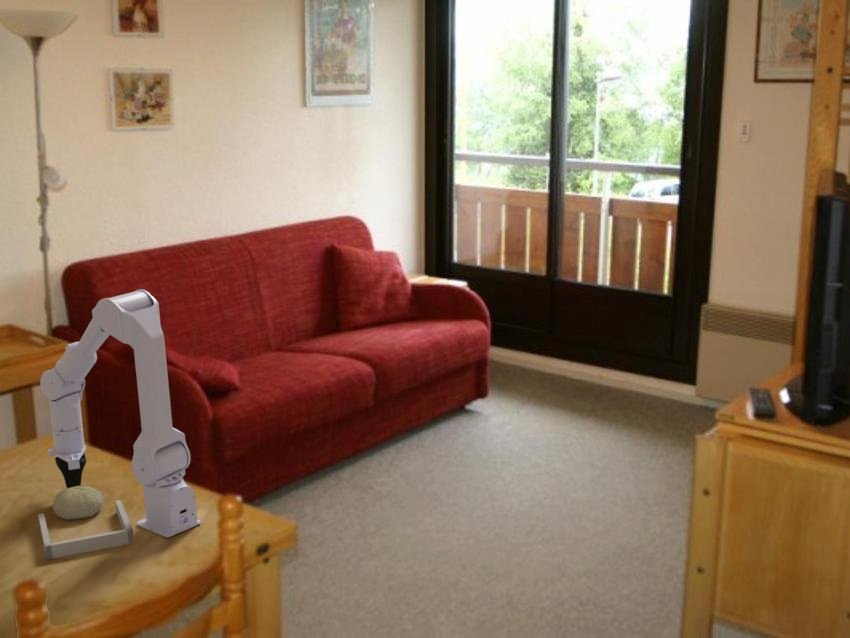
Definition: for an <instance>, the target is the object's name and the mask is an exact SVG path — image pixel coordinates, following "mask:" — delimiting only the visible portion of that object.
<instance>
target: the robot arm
mask: <svg viewBox="0 0 850 638" xmlns="http://www.w3.org/2000/svg"><path fill="white" fill-rule="evenodd" d="M91 314H92V315H91V316H92V319H91V320H90V322H89V323H88V326H87V327H86V330H85V331H84V332H83V335H82V336H81V338H80V340H79V341H75V342H71V343H69V344H66V345H65V347H64V350H65V351H64V353H63V354H62V355H61V357H60V359H59V360H57V361H56V363H55V366H54V367H53V368H51V369H49V370H46V371H43V372H42V374H41V376H40V381H39V383H40V384H39V386H40V389H41V392H42V393H43V395H44V396H45V398H47V399H48V404H49V413H50V421H51V422H50V423H51V432H52V441H53V442H52V443H53V448H49V449H47V454H48V456H55V458H54V460H55V464H56V466H57V468H58V469H59V470H60V472H61V473H62V476H63V480H64V482H65V486H66V489H67V488H71V487H75V486H82V485H81V484H82V475H83V472H84V469H85V467H86V464H87V458H86V453H85V452H86V451H87V445H86V444H85V437H84V428H83V426H84V425H83V416H82V415H83V414H82V407H81V402H82V399H83V391H84V389H85V386H86V379H85V378H86V377H87V375H88V374H89V372H90V371H91V369H92V368H93V366H94V365H95V364H96V363H97V360H98V356H97V355H98V354H97V351H98V350H99V348H100V347H101V346H102V345H103V344H104V342H105V341H106V340H107V339H108V338H109V337H110V336H112V337H113V338H115V340H118V341H119V342H121V343H123V344H126V345H129V346H130V347H131V348H132V349H133V354H134V355H133V356H134V364H135V365H134V366H135V373H136V374H135V375H136V384H137V385H136V386H137V393H138V394H137V395H138V405H139V406H138V407H139V414H140V415H139V416H140V427H141V432H140V434H139V435H138V437H137V439H136V440H135V442H134V443H133V456H132V459H131V471H132V473H133V476H134V477H135V478H136V480H137V481H138V482H139V484H141V485H142V487H143V499H144V511H145V518H143V519H140V520H139V521H137V522H136V526H138V527H141V528H143V529H146V530H148V531H150V532H152V533H155V534H157V535H160V536H162V537H164V538H171V537H173V536H175V535H178V534H179V533H182V532H184V531H186V530H189V529H191V528H194V527H197V526H198V525H200V524H202V521H201V520H200V519H198V515H197V514H198V513H197V503H196V502H197V500H196V494H195V492H194V489H193V488H192V487H190V486H189V485H188V484H187V483H186V482H185V479H184V476H186V469H187V468H188V467H189V465H190V463H191V452H190V449H189V447H188V444H187V441H186V435H185V433H184V432H182V431H180V430H179V429H177V428H175V427H173V418H172V407H171V395H170V388H169V387H170V386H169V384H170V383H169V377H168V375H169V374H168V364H167V363H168V362H167V355H166V354H167V352H166V343H165V336H164V331H163V330H162V326H161V315H160V304H159V302H158V301H157V299H156V298H155V297H154V296H152V294H151V293H150V292H149V291H147V290H146V289H141V288H140V289H136V290H135V291H132V292H128V293H124V294H120V295H115V296H112V297H105V298H102V299H100V300H98V302H97V303H96V305H95V307H93V308H92V310H91Z"/></svg>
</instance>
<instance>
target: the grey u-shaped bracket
mask: <svg viewBox="0 0 850 638" xmlns="http://www.w3.org/2000/svg"><path fill="white" fill-rule="evenodd" d="M115 511H116V513H115V514H116V516H117V518H118V520H119V523H120V525H121V529H119V530H114V531H108V532H104V533H100V534H98V533H97V534H93V535H88V536H83V537H82V536H81V537H78V538H77V537H76V538H72V539H66V540H61V541H55V542H51V539H50V534H49V528H48V526H47V521H46V517H45V514H44V513H38V514H37V516H38V517H37V518H38V524H39V530H40V536H41V540H42V544H43V548H44V549H43V550H44V555H45V558H46V560H47V561H48V560H53V559H58V558H63V557H67V556H75V555H79V554H85V553H88V552H89V553H90V552H94V551H95V552H96V551H99V550H105V549H111V548H116V547H120V546H127V545H131V544H135V535H134V534H135V533H134V529H133V527H132V525H131V521H130V519H129V517H128V514H127V512H126V510H125V507H124V505H123V501H122V499H118V500H115Z"/></svg>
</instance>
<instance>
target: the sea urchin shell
mask: <svg viewBox="0 0 850 638" xmlns="http://www.w3.org/2000/svg"><path fill="white" fill-rule="evenodd" d="M103 505H104V496H103V494H102V493H101V492H100V491H99V490H98V489H96V488H93V487H91V486H85V485H81V486H75V487H71V488H67V487H66V488H65V489H63V490H61V491H60V492H58V493H57V494H56V495H55V496H54V499H53V502H52V510H53V512H54V513H55V515H56V516H57V517H58V518H60V519H62V520H66V521H68V520H80V519H84V518H85V519H86V518H91V517H93V516H94V515H96V514H97V513H99V512H100V510H101V509H102V507H103Z"/></svg>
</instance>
